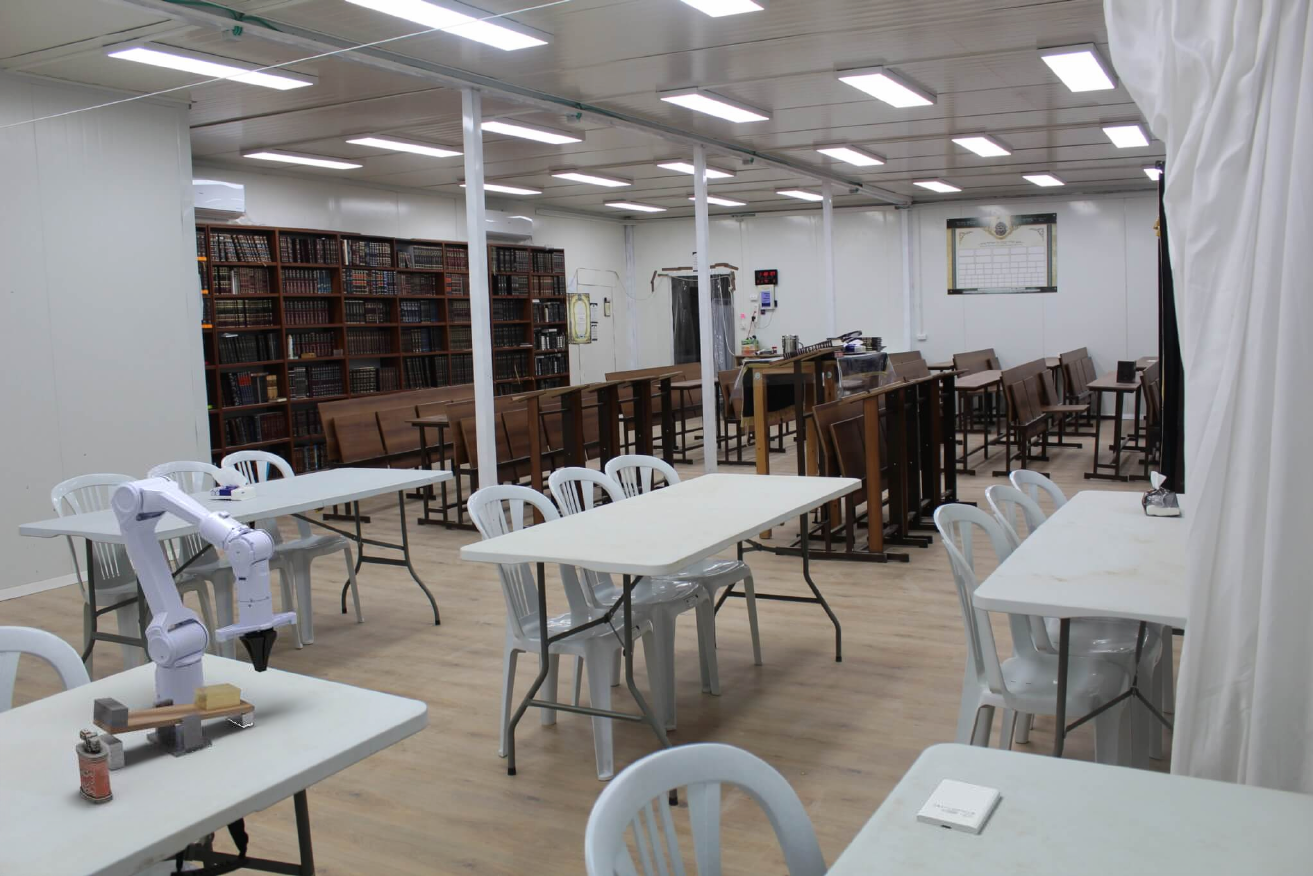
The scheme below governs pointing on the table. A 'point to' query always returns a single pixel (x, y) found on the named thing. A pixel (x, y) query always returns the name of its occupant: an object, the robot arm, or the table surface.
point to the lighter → (93, 768)
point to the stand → (170, 736)
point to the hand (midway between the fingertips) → (260, 670)
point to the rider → (217, 697)
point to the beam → (153, 715)
